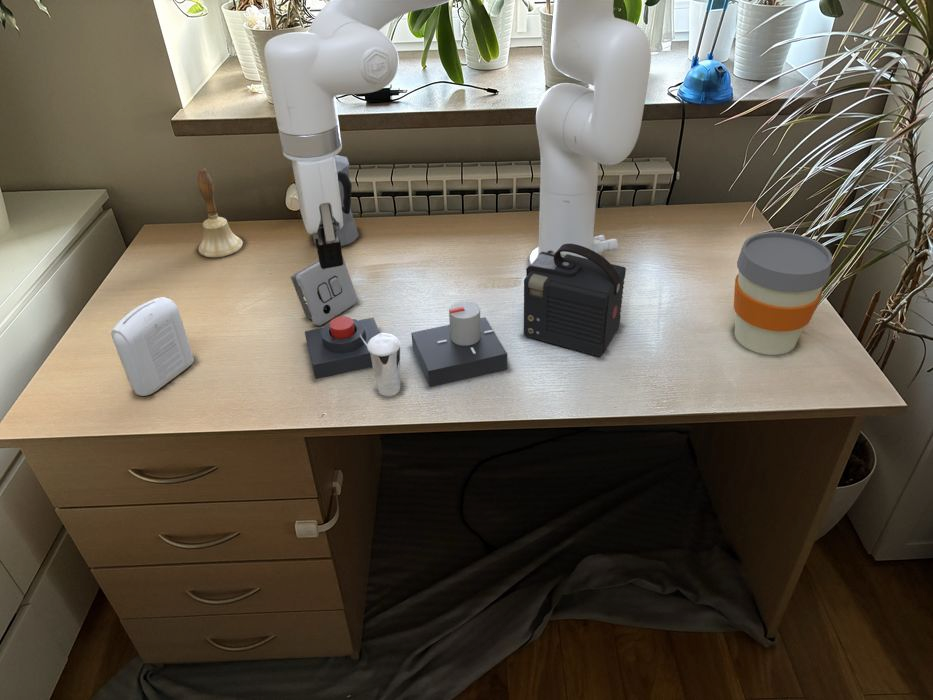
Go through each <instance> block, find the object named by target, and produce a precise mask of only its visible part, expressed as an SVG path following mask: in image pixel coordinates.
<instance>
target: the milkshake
mask: <svg viewBox="0 0 933 700" xmlns="http://www.w3.org/2000/svg"><path fill="white" fill-rule="evenodd" d="M360 337H361V339H362V340H363V342H364V343H365V344H366V346H367V348H368V352H369V356H370V359H371V363H372V367H371V368H372V370H373V375H374V379H375V380H374V381H375V384H376V388H377V391H378V393H379V395H381V396H384V397H393V396H395V395H397V394H399V393H400V390H401V387H402V385H401V382H402V381H401V380H402V379H401V342H400V340H399V338H398V337H396V336H395V335H394V334H392V333H389V332H388V333H387V332H380V333H379V334H378V335H376V336H374V337H372V338H371V339H370V340H369V342H368V345H367V343H366V342H365V341H364V339H363V338H362V336H361V335H360Z"/></svg>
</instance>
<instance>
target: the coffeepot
mask: <svg viewBox="0 0 933 700" xmlns="http://www.w3.org/2000/svg"><path fill="white" fill-rule="evenodd" d="M334 157H335V163H336V170H337V176H338V183H339V190H340V198H341V206H342V215H343V227H342V228H341V229H339V228H337V230H338V236H339V239H340V244H341V248H342V247H346V246H348V245H350V244H353V243H354V242H355V241H356V240H357V239H358V238H359V232H358V229H357V225H356V223H355V219H354V216H353V213H352V209H351V204H352V203H351V202H352V190H353V184H352V181H351V179H350V163H349V159H348V157H347V156H343V155H339V154H336V155H335V156H334ZM312 238H313V243H314V244H315V245H316V241H315V239H317V237H316V233H313V234H312Z"/></svg>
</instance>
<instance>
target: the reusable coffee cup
mask: <svg viewBox="0 0 933 700" xmlns="http://www.w3.org/2000/svg"><path fill="white" fill-rule="evenodd" d="M832 264H833V254H832V253H831V251H830V249H828V248H827V247H826V246H825V245H824V244H822V243H821V242H819V241H817V240H815V239H813V238H811V237H808V236H805V235H801V234H798V233H792V232H788V231H787V232H786V231H785V232H784V231H769V232H768V231H767V232H761V233H755V234H753V235H751V236H750V237H748V238H747V239H745V241H744V242H743V244H742V247H741V250H740V252H739V255H738V258H737V261H736V267H737V269H738V273H737V274H736V275H735V276H736V277H735V279H734V292H733V310H734V313H735V323H734V337H735V339H736V341H737V342H738V344H740V345H741V346H743V347H744V348H745V349H747V350H749V351H751V352H754V353H757V354H761V355H766V356H767V355H769V356H771V355H772V356H777V355H778V356H779V355H783V354H784V355H785V354H787V353H790V352H791V351H793V349H794V348H795V346H796V345H797V343H798V340H799V338H800V336H801V334H802V332H803V330H804V328H805V327H806V326H807V325H809V323H810V322H811V320H812V318H813V316H814V314H815V311H816V310H817V307H818V306H819V303H820V301H821V299H822V296H823V288H824V286H825V285H826V284H827V283H828V282H829V281H830V276H831V270H832Z"/></svg>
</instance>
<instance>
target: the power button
mask: <svg viewBox="0 0 933 700" xmlns="http://www.w3.org/2000/svg"><path fill="white" fill-rule="evenodd" d="M353 319H354V318H352V317H350V316H346V315H341V316H335V317H334V318H332V319H330V322H329V323H330V324H329V325H330V331H331V335H332V337H334V338H337V339H344V338H349V337H351V336H352V335H354V333H355V327H354V321H353Z"/></svg>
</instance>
